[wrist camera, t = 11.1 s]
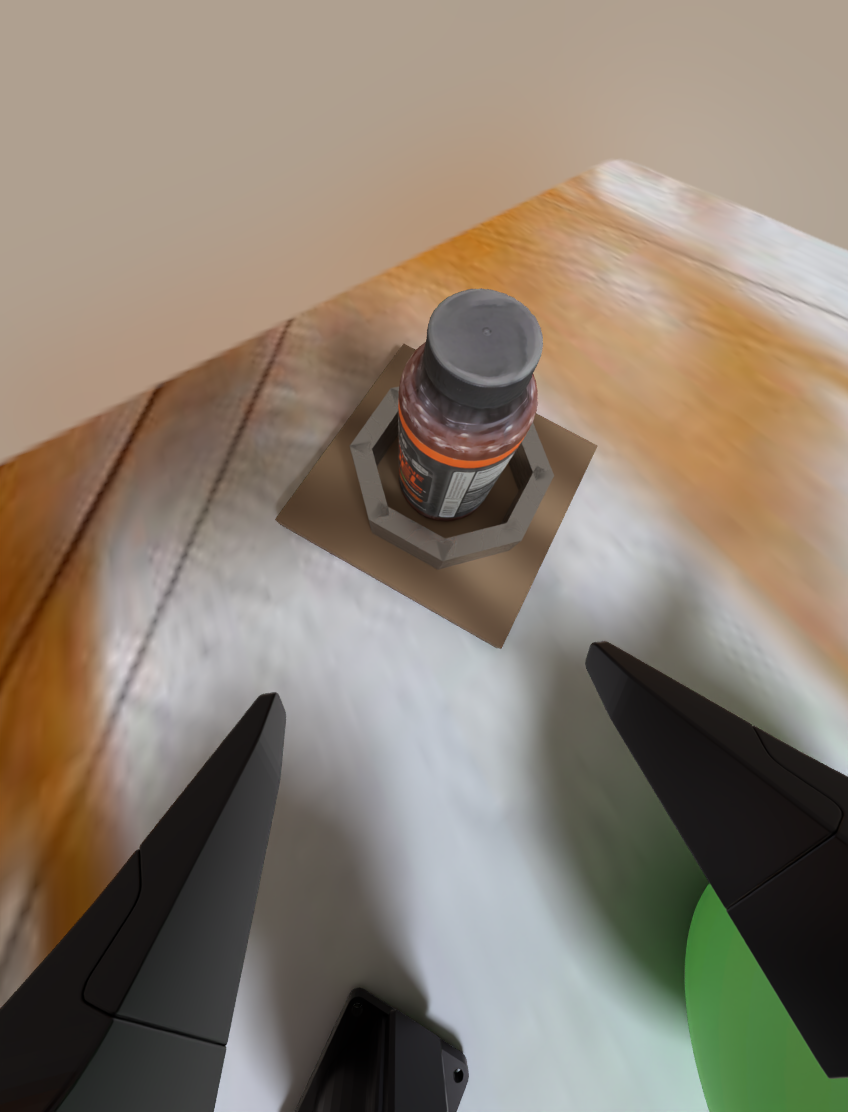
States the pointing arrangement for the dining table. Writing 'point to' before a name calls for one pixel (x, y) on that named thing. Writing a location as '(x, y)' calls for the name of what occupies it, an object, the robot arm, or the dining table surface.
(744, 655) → the dining table surface
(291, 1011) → the dining table surface
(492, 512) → the stand
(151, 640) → the dining table surface
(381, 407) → the ring
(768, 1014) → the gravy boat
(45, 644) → the dining table surface
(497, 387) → the supplement bottle
